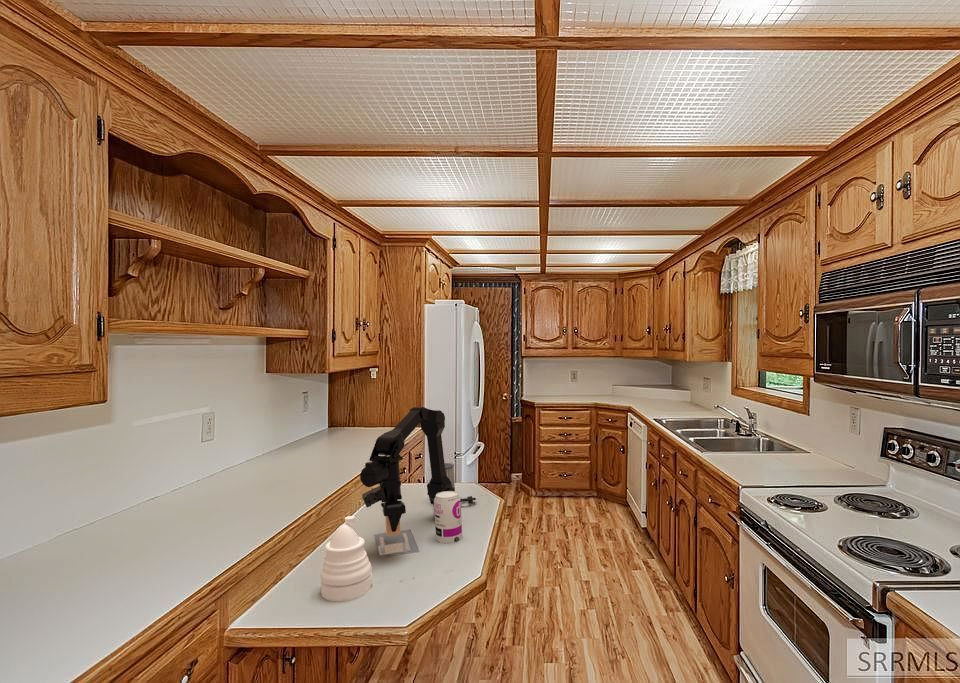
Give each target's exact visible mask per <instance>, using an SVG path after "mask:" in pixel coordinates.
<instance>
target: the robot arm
mask: <svg viewBox="0 0 960 683" xmlns="http://www.w3.org/2000/svg"><path fill="white" fill-rule="evenodd" d="M445 421H446V416H445V413H444V412H443V411H442V410H440V409H439V410H438V409H437V410H436V409H435V410H434V409H430V408H427V407H423V406H414V407H411V408H410V409H409V412H408V413H407V414H406V415H405V416H404V417H403V418H402V420H400V421H399V422H398V424H397V425H396V426H394V427H393V429H391V430H388V431H387V432H383V433H382V434H381V435H380V436H377V439H376V440H375V443H374V446H373V449H372V451H371V454H370V456H369V459H368V461H367V462H365V464H364V467H363V469H361V471H360V474H359V478H360V481H361V483H362V484H363V486H365V487H366V488H372V487H373V488H372V489H370V490H368V491H366V492H363V493H362V494H361V496H362V497H361V498H362V500H363V501H364V502H363V503H364V504H365V506H366V508H370V507H371V506H372V505H374V504H376V503H378V502H381V503H380V506H381V507H382V514H383V516H384V517H385V516H388V518H389V522H390V526H391V530H392V532H395V531H396V529H397V526H398V524H399V521H400V522H401V517H402V516H403V515H404V514H407V512H406V511H407V510H406V508H407V507H406V504H405V502H404V501H402V500H403V497H402V491H401V487H402V481H401V472H400V462H401V461H403V459H404V458H403V456H402V455H400V453H401V452H402V450H403V449H404V447H405V441H406V439H407V438H408V437H409V436H410V435H411V433H412V432H413V431H414V430H415V429H416V428H417V426H419V425H420V428H421V429H420V430H421V431H422V432H423V434H424V436H426V440H427V447H428V448H427V449H428V450H427V451H428V457H429V465H430V474H431V478H430V480H429V482H428V483H427V484H426V489H427V496H428V498H429V502H430V504H431V505H434V499H435V497H436V494H437V493H440V492H444V491H454V490H453V488H452V483H451V481H450V480H449V478H448V477H447V475H446V472H445V463H446V462H445V456H444V447H443V440H442V438H443V437H442V434H443V433H444V432H443V431H444V430H445V427H446V422H445ZM378 484H379V485H378ZM377 485H378V486H377ZM374 486H376V487H374ZM454 492H456V490H455V491H454ZM433 518H434V520H435V511H434V510H433Z"/></svg>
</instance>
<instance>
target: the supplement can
mask: <svg viewBox="0 0 960 683" xmlns="http://www.w3.org/2000/svg"><path fill="white" fill-rule="evenodd" d="M460 499H461V497H460V496H459V493H458V492H457V491H455V492H454V491H444V492H440V493H437V494H436V497H435V499H434V504H433V505H434V506H433V512H434V511H435V519H434V524H435V540H436V542H437V543H440V544H454V543H457V542H460V541H461V540H462V539H463V527H462V526H463V525H462V524H463V522H462V521H463V520H462V510H461V509H462V508H461V505H462V504H461V503H462V502H460Z"/></svg>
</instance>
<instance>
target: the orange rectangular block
mask: <svg viewBox="0 0 960 683" xmlns="http://www.w3.org/2000/svg"><path fill="white" fill-rule="evenodd" d="M384 517H385V519H384V520H385V533H386V534H387V536H389V535H396V534H401V533H400V531H401V520H400V521H399V524H398V526H397V529H396V531H395V532H392V530H391V526H390V522H389V518H388V516H384Z"/></svg>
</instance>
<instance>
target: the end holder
mask: <svg viewBox="0 0 960 683" xmlns="http://www.w3.org/2000/svg"><path fill="white" fill-rule="evenodd" d="M379 538H380V546H378V549H379V554H380V557H381V556H387V555H394V554H400V553H406V552H411V550H410V547H409V544H408V538H407V535H406V533H403V542H402V543H396V544H389V545H384V539H383V536H381V537H379Z"/></svg>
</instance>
